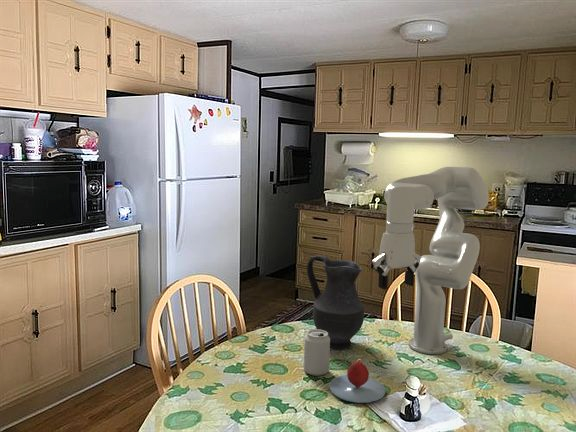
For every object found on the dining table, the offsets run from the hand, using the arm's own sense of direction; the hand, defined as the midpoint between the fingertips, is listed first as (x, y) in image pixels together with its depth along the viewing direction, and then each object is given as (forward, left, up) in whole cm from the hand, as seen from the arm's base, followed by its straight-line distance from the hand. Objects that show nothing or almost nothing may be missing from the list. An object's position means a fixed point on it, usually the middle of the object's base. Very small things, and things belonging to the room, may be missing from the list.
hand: (396, 286), depth 139 cm
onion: (+16, +5, -25) cm, 30 cm away
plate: (+16, +5, -26) cm, 31 cm away
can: (+20, -10, -26) cm, 35 cm away
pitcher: (+4, -26, -26) cm, 37 cm away
